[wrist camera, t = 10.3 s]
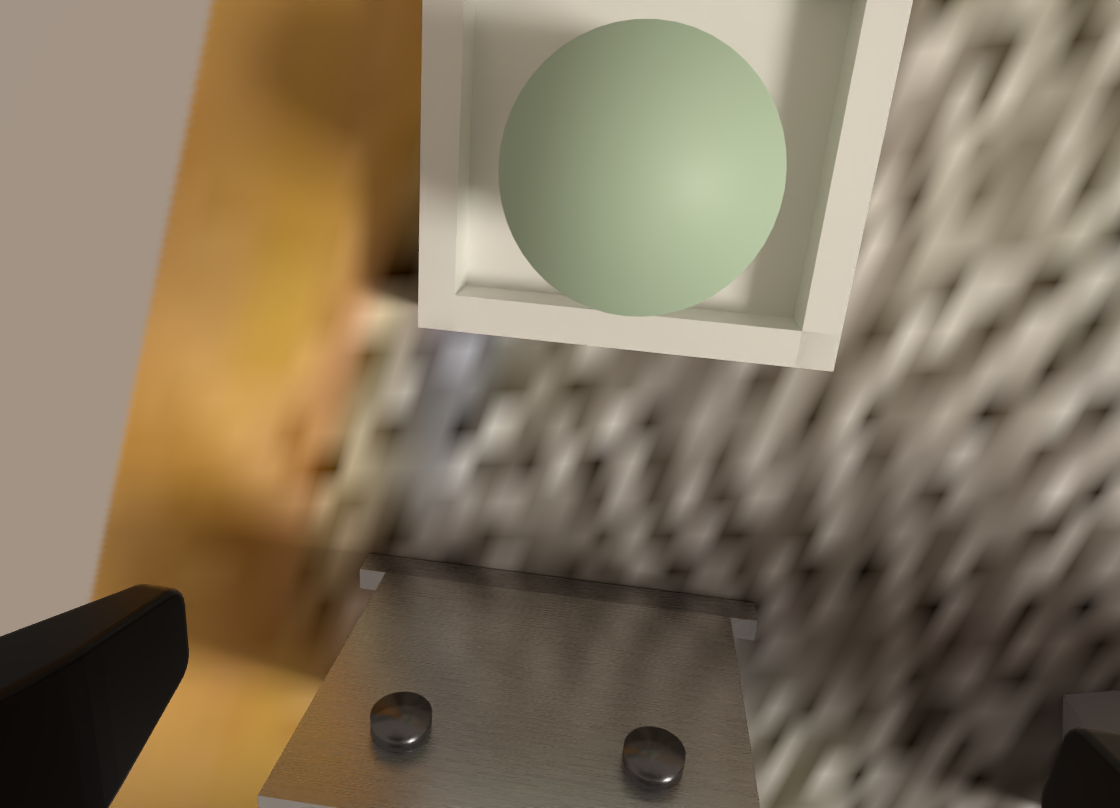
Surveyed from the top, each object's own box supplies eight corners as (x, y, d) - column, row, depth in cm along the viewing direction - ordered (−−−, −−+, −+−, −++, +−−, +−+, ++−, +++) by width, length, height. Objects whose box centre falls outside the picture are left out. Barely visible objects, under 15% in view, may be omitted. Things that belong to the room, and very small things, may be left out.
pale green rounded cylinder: (756, 53, 16) (812, 28, 10) (726, 254, 17) (760, 329, 12) (557, 39, 16) (504, 9, 10) (545, 238, 17) (493, 303, 12)
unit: (756, 589, 21) (817, 864, 13) (723, 757, 23) (759, 1077, 15) (369, 540, 21) (218, 772, 14) (371, 706, 23) (240, 987, 16)
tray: (899, -44, 15) (926, -60, 14) (818, 349, 18) (833, 371, 17) (445, -74, 16) (423, -93, 14) (436, 309, 19) (417, 327, 17)
